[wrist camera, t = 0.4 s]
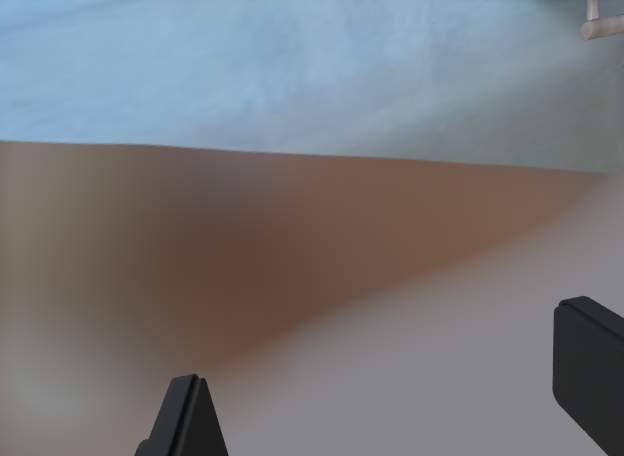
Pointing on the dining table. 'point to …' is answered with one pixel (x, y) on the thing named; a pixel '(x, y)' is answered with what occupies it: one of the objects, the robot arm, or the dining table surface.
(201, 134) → the dining table surface
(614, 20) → the drawer
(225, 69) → the dining table surface
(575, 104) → the dining table surface
